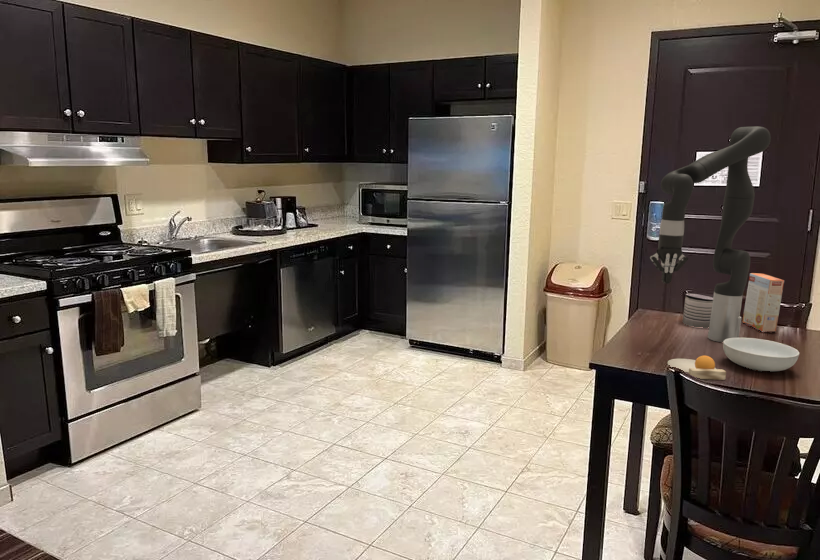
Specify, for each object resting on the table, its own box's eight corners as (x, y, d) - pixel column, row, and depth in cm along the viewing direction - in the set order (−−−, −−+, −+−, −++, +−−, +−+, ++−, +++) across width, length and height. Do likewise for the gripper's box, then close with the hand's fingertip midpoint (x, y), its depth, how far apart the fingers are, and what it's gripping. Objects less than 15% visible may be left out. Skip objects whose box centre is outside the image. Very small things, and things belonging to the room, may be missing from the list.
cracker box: (776, 333, 229) (785, 280, 225) (760, 333, 229) (769, 279, 225) (756, 323, 243) (764, 272, 239) (741, 323, 243) (749, 272, 239)
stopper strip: (721, 377, 179) (722, 369, 179) (725, 379, 177) (726, 371, 177) (688, 376, 179) (689, 368, 179) (691, 378, 177) (692, 370, 177)
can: (675, 321, 242) (679, 292, 240) (699, 320, 245) (703, 291, 243) (695, 329, 231) (699, 299, 229) (720, 328, 234) (724, 298, 232)
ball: (713, 354, 183) (721, 364, 178) (705, 368, 186) (713, 379, 181) (696, 350, 183) (704, 360, 178) (688, 364, 185) (696, 375, 180)
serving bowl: (781, 360, 198) (784, 340, 196) (807, 382, 178) (811, 360, 176) (713, 353, 202) (715, 333, 201) (730, 374, 182) (734, 352, 181)
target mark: (709, 361, 193) (709, 360, 193) (722, 376, 180) (722, 375, 180) (663, 357, 196) (663, 356, 196) (673, 371, 182) (673, 371, 182)
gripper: (685, 232, 207) (680, 281, 211) (647, 231, 207) (642, 280, 211) (696, 235, 200) (690, 285, 204) (656, 234, 200) (651, 285, 203)
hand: (665, 283), depth 207 cm, fingers closed
